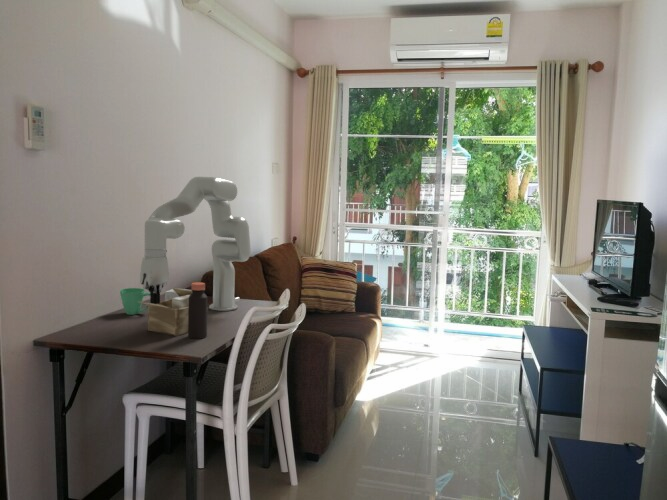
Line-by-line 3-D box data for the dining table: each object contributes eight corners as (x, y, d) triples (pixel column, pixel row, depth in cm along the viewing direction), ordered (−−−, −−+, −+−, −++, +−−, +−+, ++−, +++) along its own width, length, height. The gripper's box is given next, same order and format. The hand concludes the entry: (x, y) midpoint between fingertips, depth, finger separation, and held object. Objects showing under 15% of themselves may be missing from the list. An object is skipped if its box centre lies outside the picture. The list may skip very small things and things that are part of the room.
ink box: (183, 320, 228) (183, 292, 227) (164, 319, 230) (164, 291, 228) (192, 316, 236) (192, 289, 235) (173, 314, 238) (174, 287, 237)
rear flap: (179, 297, 224) (180, 296, 224) (203, 301, 218) (204, 300, 219) (172, 288, 220) (172, 287, 220) (196, 292, 214) (197, 291, 214)
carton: (176, 321, 226) (176, 289, 224) (205, 327, 219) (206, 294, 217) (147, 330, 211) (147, 296, 210) (177, 336, 205) (177, 301, 203)
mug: (115, 315, 232) (115, 291, 231) (126, 310, 242) (126, 287, 241) (149, 317, 231) (150, 293, 230) (159, 312, 241) (159, 289, 240)
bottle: (197, 333, 210) (198, 281, 208) (210, 336, 207) (211, 283, 205) (184, 336, 205) (184, 283, 202) (197, 340, 201) (198, 285, 199)
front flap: (137, 301, 204) (137, 302, 204) (163, 305, 199) (162, 306, 198) (149, 304, 209) (148, 305, 209) (174, 308, 204) (173, 309, 204)
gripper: (162, 251, 210) (162, 298, 212) (131, 254, 196) (131, 305, 199) (177, 252, 206) (177, 301, 208) (147, 256, 193) (147, 308, 195)
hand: (155, 303), depth 203 cm, fingers closed
